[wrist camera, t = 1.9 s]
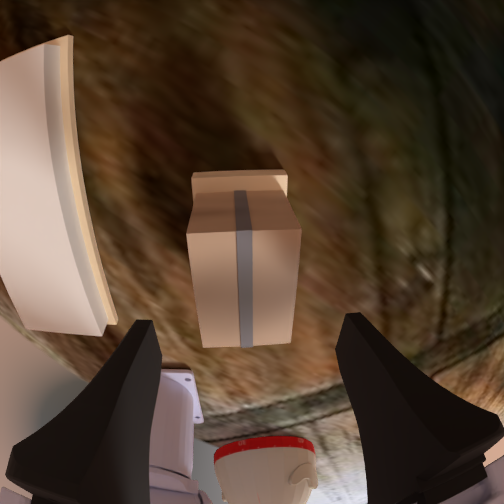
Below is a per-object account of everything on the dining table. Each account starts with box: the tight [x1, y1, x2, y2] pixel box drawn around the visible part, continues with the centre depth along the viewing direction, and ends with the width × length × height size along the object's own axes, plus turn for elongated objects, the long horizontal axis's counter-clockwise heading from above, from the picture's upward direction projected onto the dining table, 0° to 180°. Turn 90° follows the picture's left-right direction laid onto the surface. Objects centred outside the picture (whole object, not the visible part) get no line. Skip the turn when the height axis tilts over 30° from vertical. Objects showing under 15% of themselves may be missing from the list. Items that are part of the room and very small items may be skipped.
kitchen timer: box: [214, 436, 318, 504], centre depth 29 cm, size 14×14×15 cm
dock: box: [0, 35, 118, 336], centre depth 14 cm, size 8×19×2 cm, turn 179°
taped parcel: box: [186, 169, 302, 348], centre depth 16 cm, size 8×5×6 cm, turn 0°
